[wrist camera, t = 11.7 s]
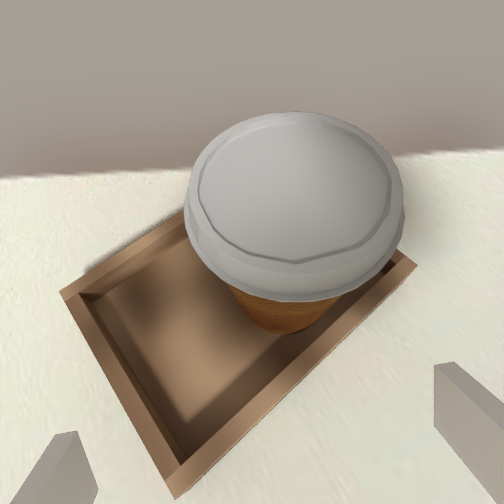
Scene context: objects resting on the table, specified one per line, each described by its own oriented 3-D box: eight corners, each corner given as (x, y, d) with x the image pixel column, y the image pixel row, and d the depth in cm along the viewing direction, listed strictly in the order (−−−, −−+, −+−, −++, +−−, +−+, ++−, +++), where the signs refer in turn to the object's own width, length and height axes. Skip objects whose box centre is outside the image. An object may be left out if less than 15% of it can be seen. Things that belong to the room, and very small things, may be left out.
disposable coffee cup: (200, 339, 22) (136, 255, 11) (238, 228, 26) (218, 94, 16) (339, 376, 20) (415, 317, 10) (354, 250, 24) (417, 118, 14)
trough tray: (271, 176, 30) (271, 152, 28) (401, 283, 24) (417, 265, 21) (81, 306, 24) (58, 291, 22) (188, 490, 18) (174, 500, 16)
